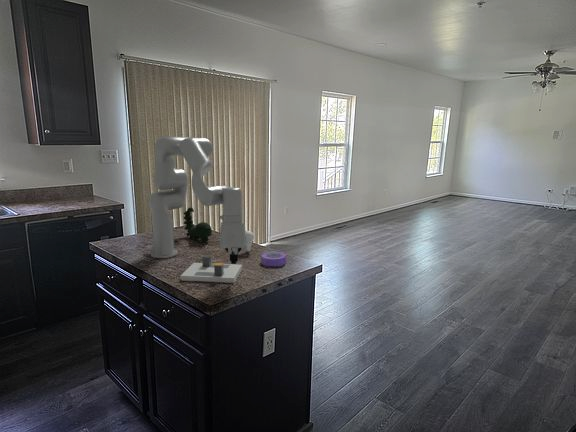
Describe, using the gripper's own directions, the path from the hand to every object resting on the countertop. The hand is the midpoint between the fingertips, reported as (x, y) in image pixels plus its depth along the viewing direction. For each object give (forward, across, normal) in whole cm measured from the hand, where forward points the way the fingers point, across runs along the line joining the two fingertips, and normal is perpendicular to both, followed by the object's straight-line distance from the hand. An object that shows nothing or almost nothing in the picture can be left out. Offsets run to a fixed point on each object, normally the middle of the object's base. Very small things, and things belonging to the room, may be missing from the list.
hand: (234, 263), depth 147 cm
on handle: (+5, -15, +10) cm, 18 cm away
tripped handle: (+5, -6, 0) cm, 8 cm away
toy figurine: (+6, -34, +57) cm, 67 cm away
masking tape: (+8, +13, +24) cm, 28 cm away
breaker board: (+7, -11, +5) cm, 14 cm away
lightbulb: (+7, -2, +39) cm, 40 cm away
